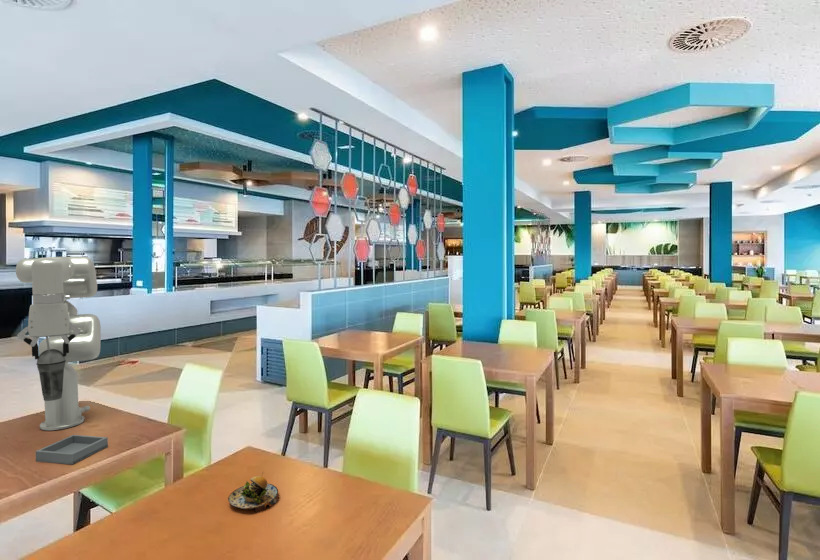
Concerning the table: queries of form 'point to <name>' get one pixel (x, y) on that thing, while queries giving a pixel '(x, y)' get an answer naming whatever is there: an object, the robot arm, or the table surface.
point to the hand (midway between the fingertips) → (51, 356)
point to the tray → (71, 449)
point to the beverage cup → (51, 373)
